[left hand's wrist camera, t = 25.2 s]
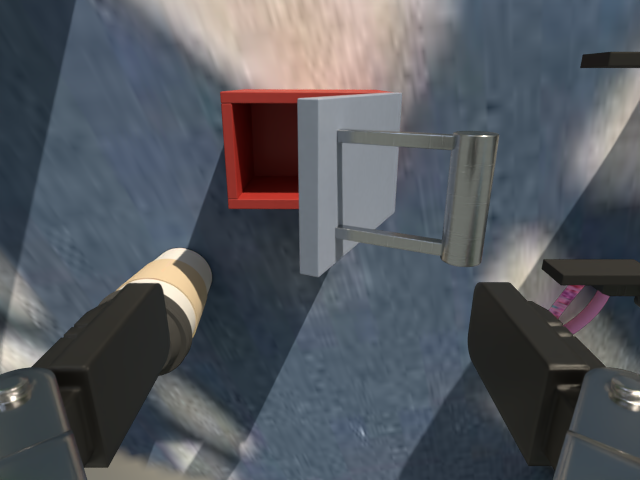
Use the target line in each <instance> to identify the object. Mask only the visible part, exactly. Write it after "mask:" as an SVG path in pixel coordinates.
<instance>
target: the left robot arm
mask: <svg viewBox="0 0 640 480" xmlns="http://www.w3.org/2000/svg"><path fill="white" fill-rule="evenodd" d="M169 349H170V334H169V327H168V320H167V313H166V305H165V298H164V292H163V288H162V286H161V284H159V283H128V284H126V285H125V286H124V287H123V288H122V289H121V290H120V291H119V293H118V294H117V295H116V296H115V297H114V298H113V299H112V300H111V301H110V302H105V303H103V304H101V305H99V306H97V307H96V308H94V309H92V310H90V311H88V312H87V313H86V314H85V315H84V316H83V317H82V318H81V319H80V320H79V321H77V322H76V323H75V324H74V327H71V328H70V329H69V330H68V331H67V332H66V333H65V334H64V338H60V339H59V340H58V341H57V342H56V343H55V344H54V345H53V346H52V347H51V348H50V349H49V350H48V351H47V352H46V353H45V354H44V355H43V356H42V357H41V358H40V359H39V360H38V361H37V362H36V363H35V364H34V365H33V366H32V367H30V368H22V369H17V370H13V371H10V372H6V373H4V374H1V375H0V480H87V477H86V474H85V471H84V468H85V467H86V468H89V467H91V468H92V467H93V468H96V467H98V468H103V467H109V465H110V463H111V461H112V459H113V457H114V456H115V454H116V452H117V450H118V448H119V447H120V445H121V443H122V441H123V439H124V437H125V436H126V434H127V432H128V430H129V428H130V427H131V425H132V423H133V421H134V419H135V417H136V416H137V414H138V412H139V410H140V408H141V407H142V405H143V403H144V401H145V399H146V397H147V396H148V394H149V392H150V390H151V388H152V387H153V385H154V383H155V381H156V379H157V377H158V376H159V374H160V372H161V370H162V368H163V366H164V365H165V363H166V361H167V358H168V355H169ZM468 350H469V355H470V358H471V361H472V363H473V364H474V366H475V368H476V370H477V372H478V374H479V376H480V377H481V379H482V381H483V383H484V385H485V387H486V388H487V390H488V392H489V394H490V396H491V398H492V399H493V401H494V403H495V405H496V407H497V409H498V411H499V412H500V414H501V416H502V418H503V420H504V422H505V423H506V425H507V427H508V429H509V431H510V433H511V434H512V436H513V438H514V440H515V442H516V444H517V446H518V447H519V449H520V451H521V453H522V455H523V457H524V458H525V460H526V462H527V464H528V466H552V467H553V469H554V470H555V474H554V477H553V480H640V375H639V374H636V373H634V372H630V371H627V370H623V369H618V368H610V367H605V366H604V365H603V364H602V363H601V362H600V361H599V360H598V359H597V358H596V357H595V356H594V355H593V354H592V353H591V352H590V351H589V350H588V349H587V348H586V347H585V346H584V345H583V344H582V343H581V342H580V341H579V340H578V339H577V338H576V337H573V334H572V333H571V332H570V331H569V330H568V329H567V328H566V327H565V326H563V324H562V323H561V322H560V321H559V320H558V319H557V318H556V317H555V316H554V315H553V314H552V313H551V312H550V311H548V310H547V309H545V308H543V307H541V306H539V305H538V304H536V303H534V302H532V301H527V300H526V299H525V298H524V297H523V296H522V295H521V294H520V293H519V292H518V291H517V289H516V288H515V287H514V286H513V285H512V284H511V283H509V282H479V283H477V285H476V286H475V289H474V295H473V302H472V310H471V317H470V324H469V332H468Z"/></svg>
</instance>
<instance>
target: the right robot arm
mask: <svg viewBox="0 0 640 480" xmlns="http://www.w3.org/2000/svg"><path fill="white" fill-rule="evenodd" d="M580 68H640V52H605V53H595V54H585V55H583V56H582V62H581V67H580ZM542 270H544V271H545V272H546V273H547V274H548V275H549V276H551V277H552V278H553V279H554V280H555V281H557V282H558V283H559V284H560V285H591V286H593V287H594V288H595V289H597V290H598V291H599V292H601V293H602V294H605V295H607V296H635V298H634V302H635V304H636V305H638V306H639V307H640V263H639V262H637V261H635V260H634V259H544V260H543V265H542Z"/></svg>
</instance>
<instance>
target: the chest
mask: <svg viewBox="0 0 640 480" xmlns="http://www.w3.org/2000/svg"><path fill="white" fill-rule="evenodd" d="M372 93H393V92H387V91H380V90H253V89H244V90H234V91H224V92H220V96H221V103H222V104H221V109H222V123H223V137H224V150H225V164H226V178H227V192H228V207H229V209H299V179H298V109H297V99H298V98H310V97H326V96H341V95H357V94H372Z"/></svg>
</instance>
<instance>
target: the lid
mask: <svg viewBox="0 0 640 480" xmlns="http://www.w3.org/2000/svg"><path fill="white" fill-rule="evenodd" d="M401 104H402V93H372V94H357V95H341V96H326V97H310V98H298V99H297V109H298V179H299V249H300V274H304V275H309V276H313V277H320V276H321V275H322V274H323V273H324V272H325V271H327V270H328V269H329V268H330V267H331V266H332V265H334V264H335V263H336V262H337V261H338V260H339V259H341V258H342V257H343V256H344V255H345V254H346V253H348V252H349V251H350V250H351V249H352V248H353V247H355V246H356V245H357V244H358V243H359V242H361V243H367V244H373V245H379V246H385V247H391V248H397V249H403V250H409V251H415V252H421V253H427V254H433V255H439V256H440V258H441V260H442V261H444V262H445V263H448V264H450V265H454V266H459V267H473V266H477V265H479V264H480V263H481V260H482V253H483V246H484V239H485V232H486V225H487V218H488V211H489V204H490V197H491V190H492V183H493V176H494V169H495V162H496V155H497V148H498V140H499V134H497V133H493V132H485V131H457V132H454V133H453V134H435V133H416V132H400V120H401ZM399 147H411V148H426V149H441V150H451V160H450V169H449V178H448V188H447V197H446V207H445V216H444V226H443V235H442V240H440V239H434V238H427V237H421V236H414V235H407V234H401V233H394V232H388V231H381V230H374V229H376V228H377V227H378V226H379V225H380V224H382V223H383V222H384V221H385V220H386V219H387V218H389V217H390V216H391V215H392V214H393V213H394V212H395V197H396V182H397V166H398V151H399Z"/></svg>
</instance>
